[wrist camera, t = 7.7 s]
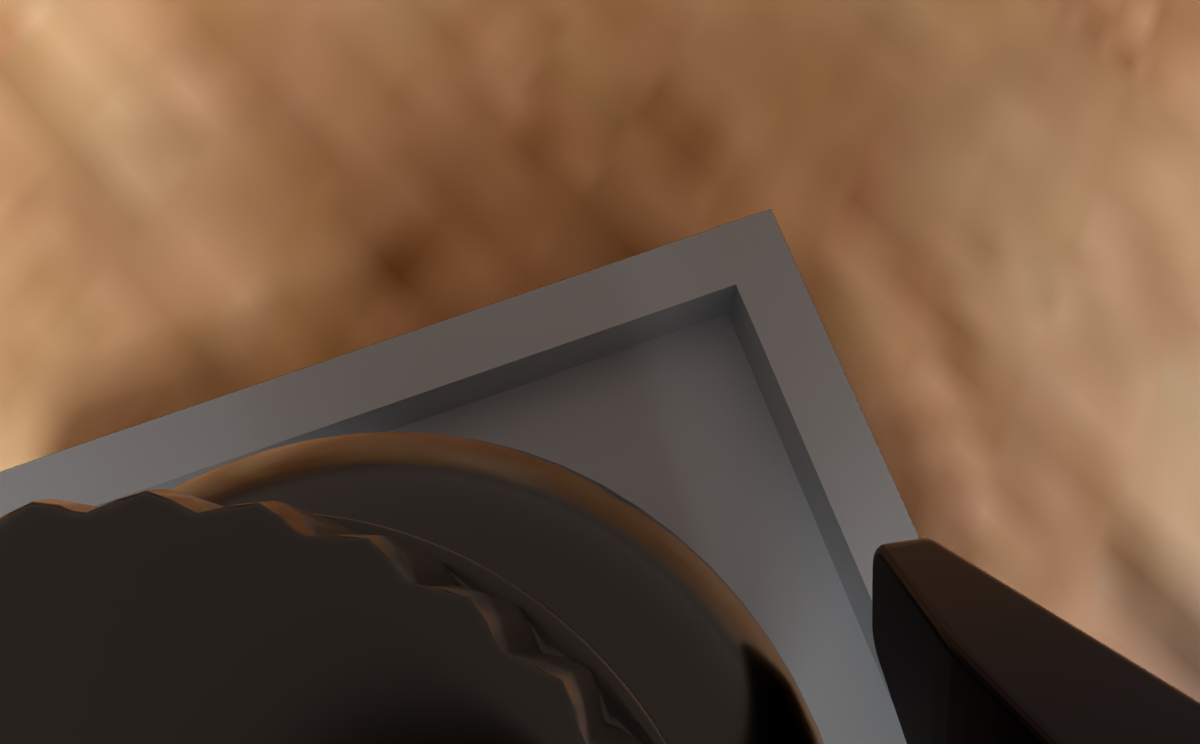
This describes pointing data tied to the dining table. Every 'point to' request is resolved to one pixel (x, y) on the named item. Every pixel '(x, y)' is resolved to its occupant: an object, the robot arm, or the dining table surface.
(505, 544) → the supplement bottle
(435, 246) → the dining table surface
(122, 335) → the dining table surface
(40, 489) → the tray
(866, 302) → the dining table surface
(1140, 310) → the dining table surface
